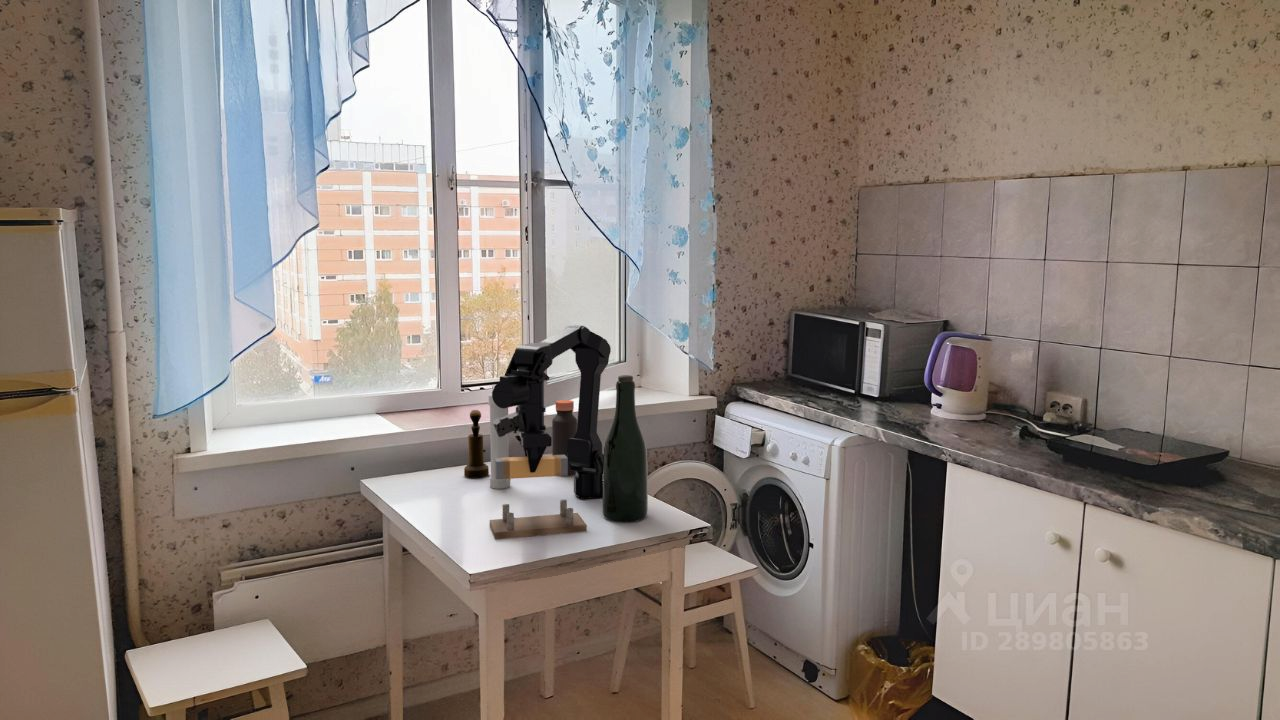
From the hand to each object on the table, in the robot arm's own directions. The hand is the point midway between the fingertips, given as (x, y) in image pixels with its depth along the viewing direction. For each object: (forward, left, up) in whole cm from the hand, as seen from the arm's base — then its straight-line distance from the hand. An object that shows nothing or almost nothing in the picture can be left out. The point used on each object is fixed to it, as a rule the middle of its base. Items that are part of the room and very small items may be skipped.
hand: (531, 470), depth 200 cm
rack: (0, +6, -12) cm, 13 cm away
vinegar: (-16, -39, -12) cm, 44 cm away
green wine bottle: (-21, +3, -12) cm, 25 cm away
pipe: (+3, -30, -12) cm, 33 cm away
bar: (0, 0, -1) cm, 1 cm away
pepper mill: (+8, -43, -12) cm, 46 cm away
